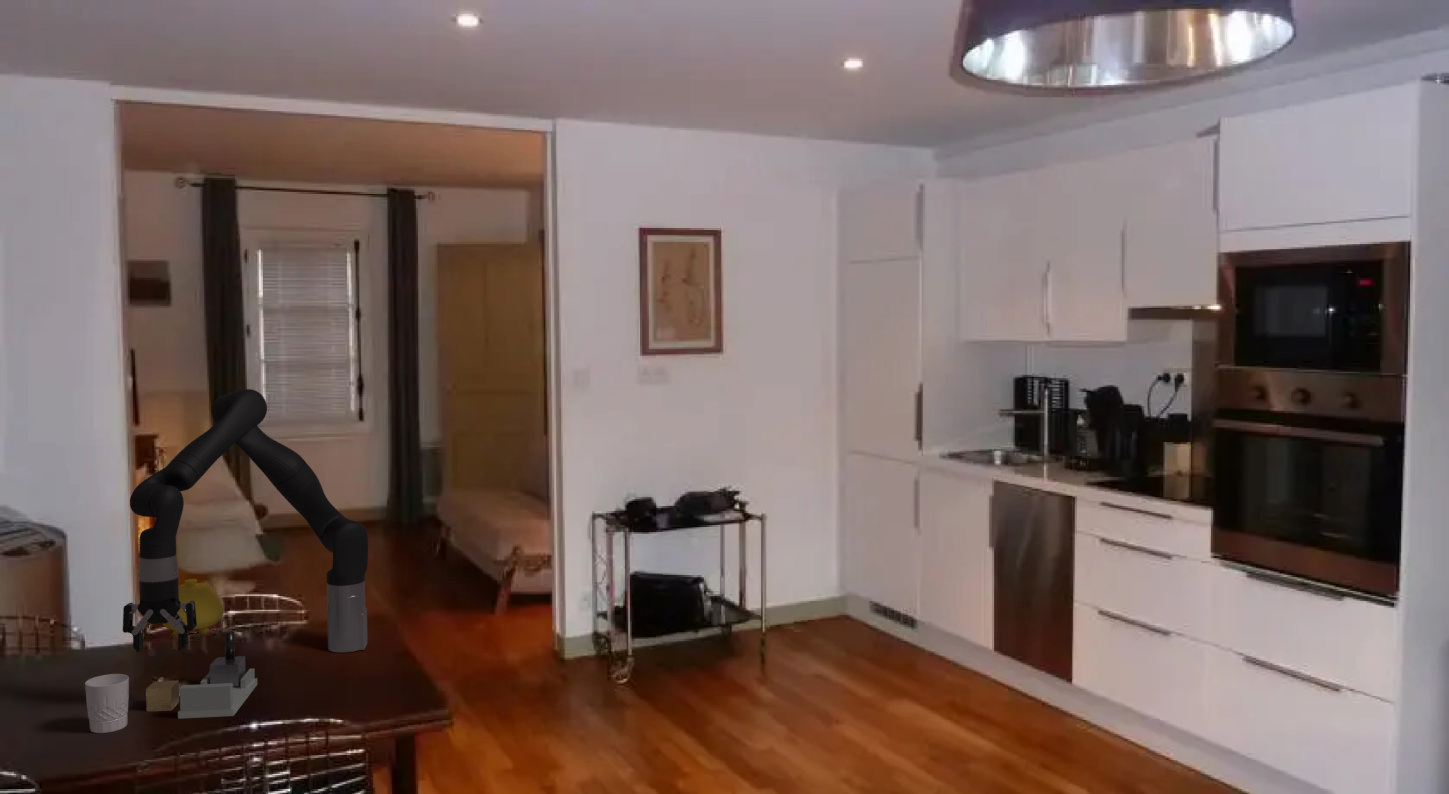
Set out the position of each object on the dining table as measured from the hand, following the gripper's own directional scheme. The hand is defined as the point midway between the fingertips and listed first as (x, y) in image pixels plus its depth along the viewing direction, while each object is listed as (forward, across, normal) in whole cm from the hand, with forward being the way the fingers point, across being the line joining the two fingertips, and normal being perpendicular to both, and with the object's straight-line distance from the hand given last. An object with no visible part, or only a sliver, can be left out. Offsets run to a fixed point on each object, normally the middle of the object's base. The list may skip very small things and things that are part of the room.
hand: (160, 650), depth 237 cm
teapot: (+13, +14, -60) cm, 63 cm away
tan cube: (+13, 0, 0) cm, 13 cm away
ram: (+11, -11, -9) cm, 18 cm away
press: (+12, -11, -2) cm, 17 cm away
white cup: (+13, +7, +11) cm, 18 cm away
